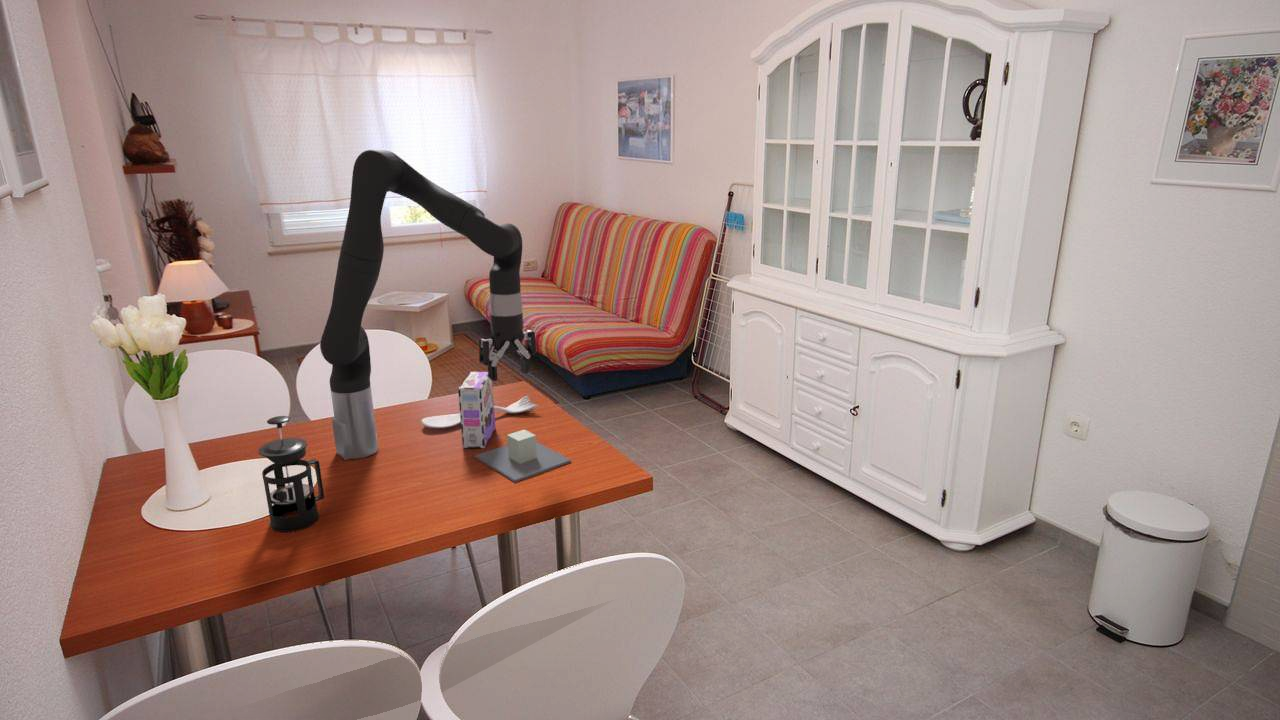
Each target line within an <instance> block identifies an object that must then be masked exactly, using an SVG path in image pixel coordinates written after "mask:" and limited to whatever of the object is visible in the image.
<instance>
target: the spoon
mask: <svg viewBox="0 0 1280 720" xmlns="http://www.w3.org/2000/svg"><path fill="white" fill-rule="evenodd" d="M531 401H532V400H531V398H530V395H525V396H523V397H521V398H520V399H519V400H518V401H517V400H516V401H515V402H514V403H511V404H509V405H508V406H507V407H501V406H498V405H494V411H500V412H505V413H508V414H521V413H524V412H528V411H532V410H535V409H538V408H539V407H540V405H539V404H537V403H536V404H535V403H533V402H531ZM421 424H422V426H424V427H426V428H427V427H428V428H431V429H447V428H451V427H454V426H457V425H459V424H461V418H460V412H459V413H451V414H443V415H433V416H427V417H423V418H422V419H421Z"/></svg>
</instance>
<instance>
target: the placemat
mask: <svg viewBox="0 0 1280 720" xmlns="http://www.w3.org/2000/svg"><path fill="white" fill-rule="evenodd" d="M536 448H537V458H535V459H532V460H529V461H527V462H524V463H521V464H519V463H517V462H516V461H514V460H512V459H510V458H509V457H508V444H506V445H503V446H500V447H497V448H493V449H491V450H488V451H485V452H482V453H478V454H475V456H474V458H475V459H476V460H479V461H480V462H482V463H483V464H485V465H486V466H488V467H489V468H491V469H493V470H495V471H496V472H498V473H499V474H500V475H503V476H504V477H506V478H507V479H509V480H510V481H512V482H513V483H517V482H520V481H523V480H525V479H528V478H530V477H534V476H537V475H538V474H539V475H540V474H542V473H545V472H547V471H551V470H553V469H555V468H558V467H562V466H564V465H567V464H569V463H571V461H572V460H571V459H570V458H568V457H567V456H564V455H563V454H560V453H559V452H557V451H555V450H553V449H552V448H549V447H547V446H546V445H544V444H542V443H540V442H538V441H536Z"/></svg>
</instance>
